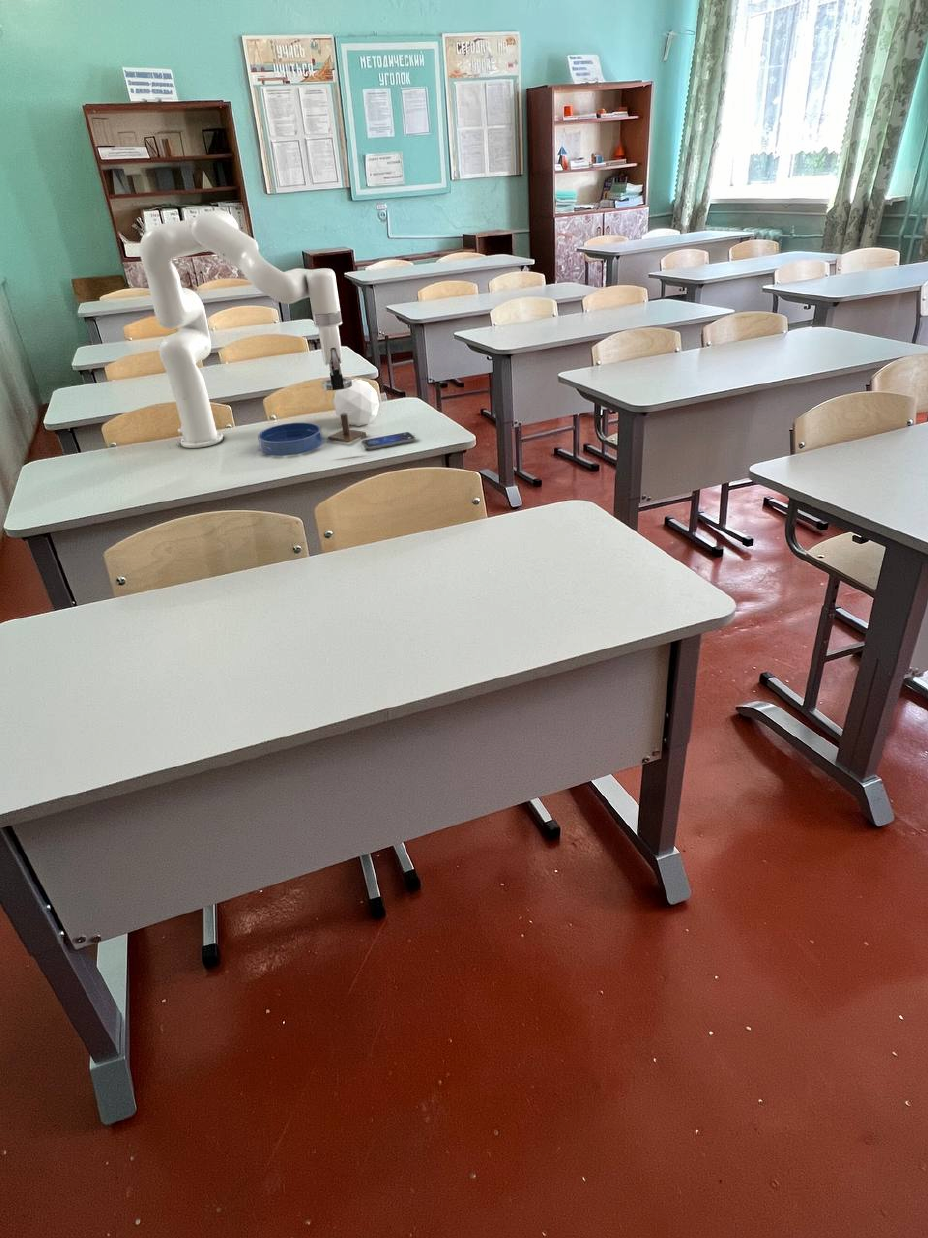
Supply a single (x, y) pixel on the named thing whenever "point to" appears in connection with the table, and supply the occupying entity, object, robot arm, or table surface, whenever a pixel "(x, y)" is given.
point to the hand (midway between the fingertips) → (338, 387)
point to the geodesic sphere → (357, 402)
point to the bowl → (290, 438)
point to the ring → (328, 386)
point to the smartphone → (388, 440)
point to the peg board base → (346, 432)
